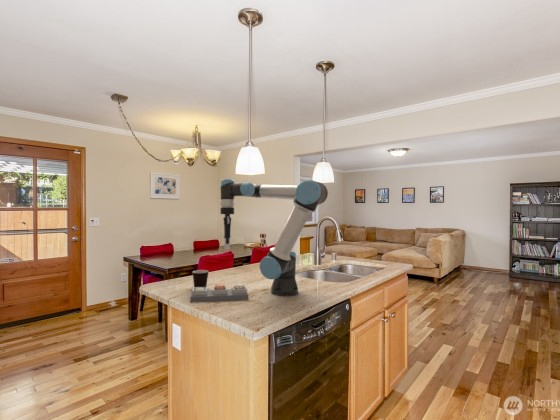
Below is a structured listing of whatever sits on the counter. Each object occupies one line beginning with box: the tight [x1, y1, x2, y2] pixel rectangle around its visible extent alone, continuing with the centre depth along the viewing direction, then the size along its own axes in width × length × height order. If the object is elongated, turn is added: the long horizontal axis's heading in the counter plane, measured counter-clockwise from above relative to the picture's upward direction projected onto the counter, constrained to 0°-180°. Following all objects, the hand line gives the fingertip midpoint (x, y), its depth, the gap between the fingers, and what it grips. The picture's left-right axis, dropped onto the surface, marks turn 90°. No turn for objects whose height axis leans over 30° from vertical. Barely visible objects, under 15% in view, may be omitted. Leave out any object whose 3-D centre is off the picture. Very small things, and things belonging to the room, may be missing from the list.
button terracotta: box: [214, 283, 226, 290], centre depth 159 cm, size 5×5×2 cm
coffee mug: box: [192, 269, 209, 287], centre depth 175 cm, size 12×9×10 cm
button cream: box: [234, 283, 245, 289], centre depth 161 cm, size 5×5×2 cm
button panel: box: [190, 285, 249, 303], centre depth 159 cm, size 28×12×5 cm, turn 103°
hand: (227, 249), depth 172 cm, fingers closed
